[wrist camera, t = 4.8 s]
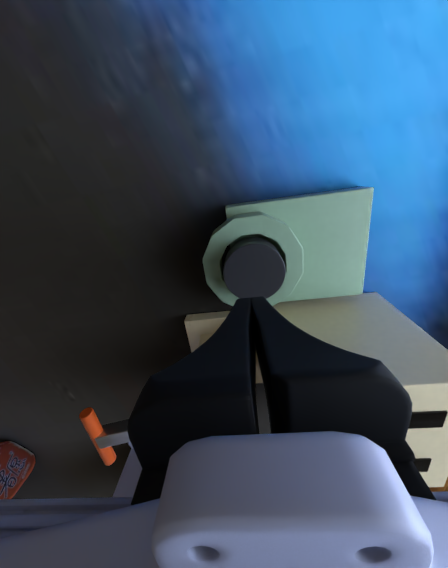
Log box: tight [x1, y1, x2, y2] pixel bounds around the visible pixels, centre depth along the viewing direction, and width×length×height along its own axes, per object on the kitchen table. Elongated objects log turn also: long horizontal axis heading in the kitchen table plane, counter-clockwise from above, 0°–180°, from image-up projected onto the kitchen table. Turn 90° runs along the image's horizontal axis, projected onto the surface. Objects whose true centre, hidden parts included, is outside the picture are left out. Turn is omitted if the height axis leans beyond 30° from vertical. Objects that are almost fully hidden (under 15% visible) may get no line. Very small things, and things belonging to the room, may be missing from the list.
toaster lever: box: [79, 407, 130, 465], centre depth 17 cm, size 11×5×2 cm, turn 97°
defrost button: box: [223, 237, 286, 299], centre depth 16 cm, size 4×4×2 cm
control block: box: [203, 187, 374, 306], centre depth 18 cm, size 12×8×4 cm, turn 98°
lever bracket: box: [184, 311, 263, 383], centre depth 20 cm, size 7×8×9 cm
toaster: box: [273, 292, 448, 487], centre depth 18 cm, size 10×9×10 cm
